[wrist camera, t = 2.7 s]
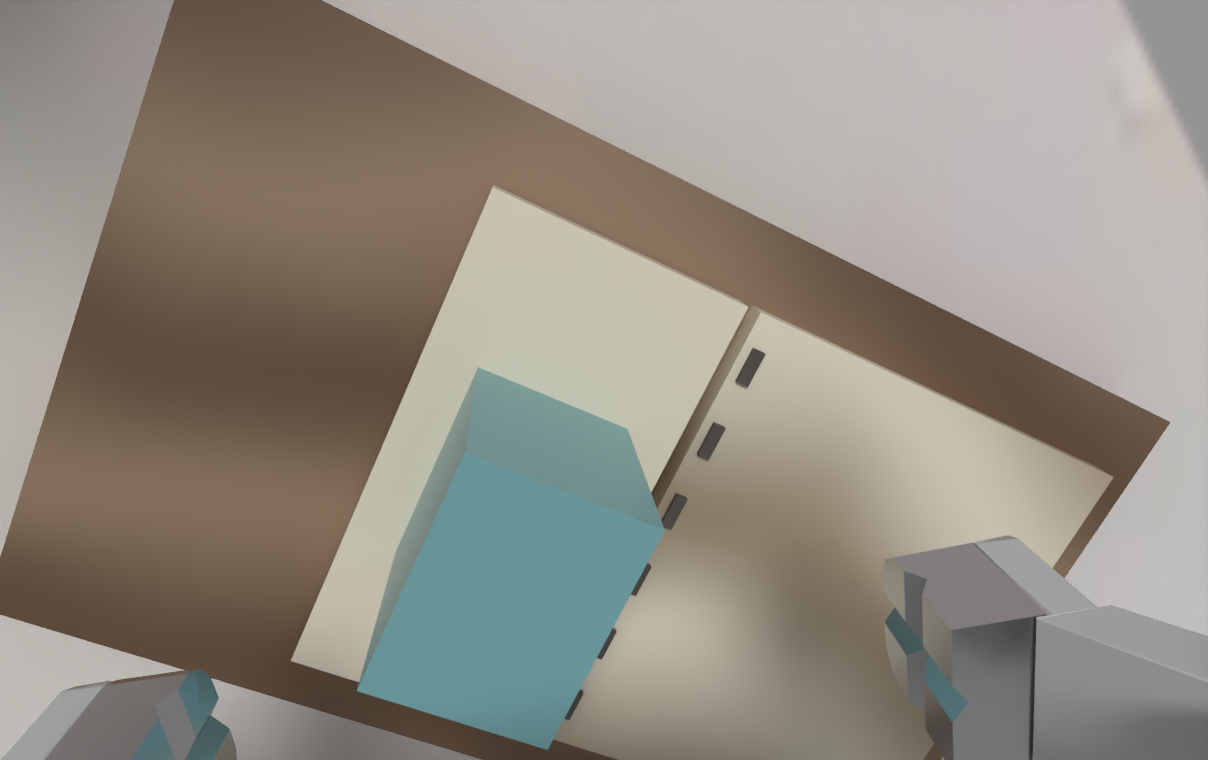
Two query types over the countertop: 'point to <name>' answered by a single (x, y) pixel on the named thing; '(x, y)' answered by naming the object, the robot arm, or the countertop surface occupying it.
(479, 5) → the countertop surface
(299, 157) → the board
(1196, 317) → the countertop surface
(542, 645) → the panel
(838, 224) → the countertop surface
